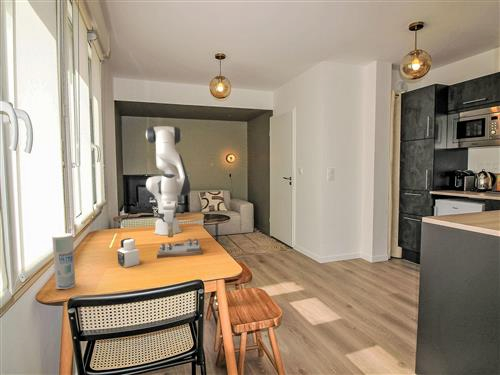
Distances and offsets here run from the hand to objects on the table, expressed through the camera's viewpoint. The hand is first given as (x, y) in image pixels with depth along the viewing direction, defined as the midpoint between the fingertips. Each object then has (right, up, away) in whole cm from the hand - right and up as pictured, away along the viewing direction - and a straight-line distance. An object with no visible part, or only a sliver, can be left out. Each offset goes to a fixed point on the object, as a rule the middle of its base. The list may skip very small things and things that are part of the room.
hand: (170, 227), depth 163 cm
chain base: (+8, -12, -10) cm, 17 cm away
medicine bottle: (-12, -14, -27) cm, 32 cm away
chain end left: (+5, -10, -11) cm, 16 cm away
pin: (0, -5, +1) cm, 5 cm away
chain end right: (+11, -10, -10) cm, 18 cm away
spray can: (-26, -16, -51) cm, 60 cm away
